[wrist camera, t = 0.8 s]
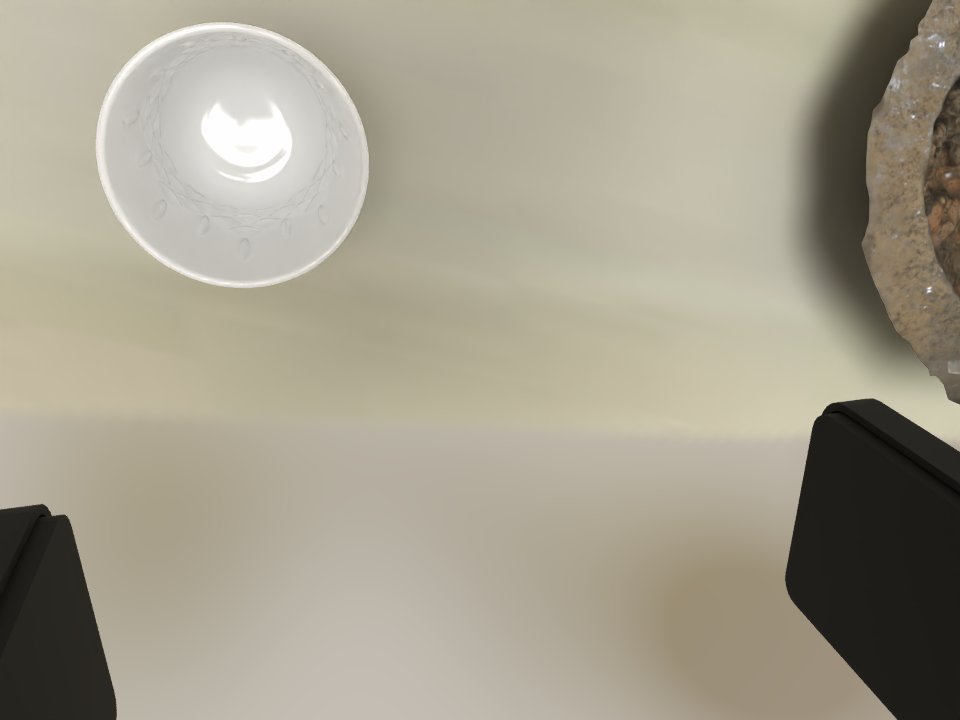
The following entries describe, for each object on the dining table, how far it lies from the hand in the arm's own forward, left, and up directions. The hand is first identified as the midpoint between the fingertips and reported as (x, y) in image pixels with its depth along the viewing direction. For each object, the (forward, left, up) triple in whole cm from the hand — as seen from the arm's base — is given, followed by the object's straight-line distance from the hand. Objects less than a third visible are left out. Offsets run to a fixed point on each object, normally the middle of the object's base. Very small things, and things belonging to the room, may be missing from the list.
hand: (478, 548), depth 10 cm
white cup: (-2, -3, -28) cm, 28 cm away
